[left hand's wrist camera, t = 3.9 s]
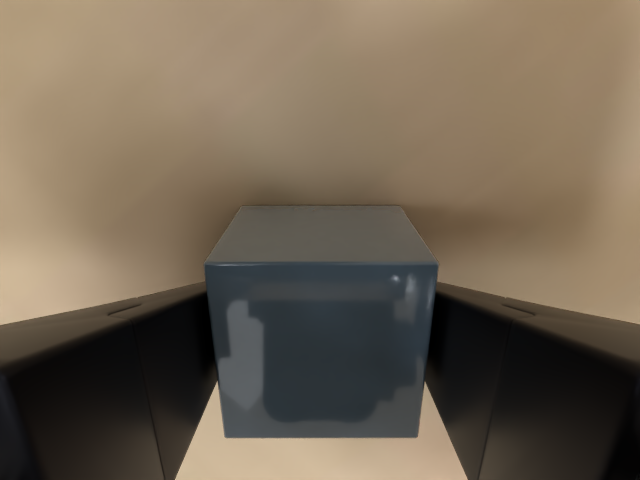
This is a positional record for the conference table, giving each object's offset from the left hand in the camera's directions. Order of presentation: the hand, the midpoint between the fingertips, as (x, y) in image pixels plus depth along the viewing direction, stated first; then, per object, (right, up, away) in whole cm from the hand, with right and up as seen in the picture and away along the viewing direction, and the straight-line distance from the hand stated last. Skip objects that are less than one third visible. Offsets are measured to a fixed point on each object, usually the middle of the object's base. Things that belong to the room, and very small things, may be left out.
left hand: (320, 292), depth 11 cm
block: (0, 0, +1) cm, 1 cm away
